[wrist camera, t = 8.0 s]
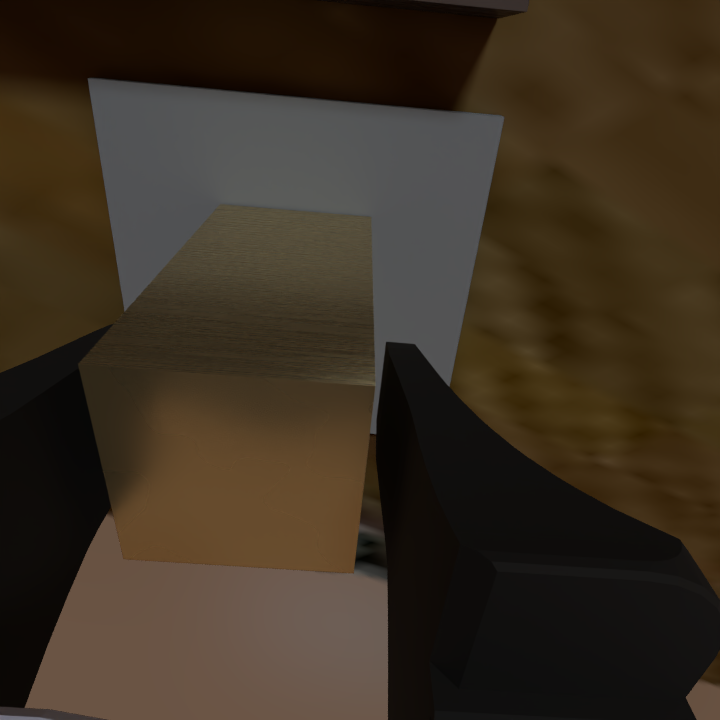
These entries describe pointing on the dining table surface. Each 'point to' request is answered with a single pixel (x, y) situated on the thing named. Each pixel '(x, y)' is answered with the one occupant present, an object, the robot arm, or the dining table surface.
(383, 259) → the mat
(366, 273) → the tan rectangular block
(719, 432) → the dining table surface
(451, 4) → the double cubby frame
